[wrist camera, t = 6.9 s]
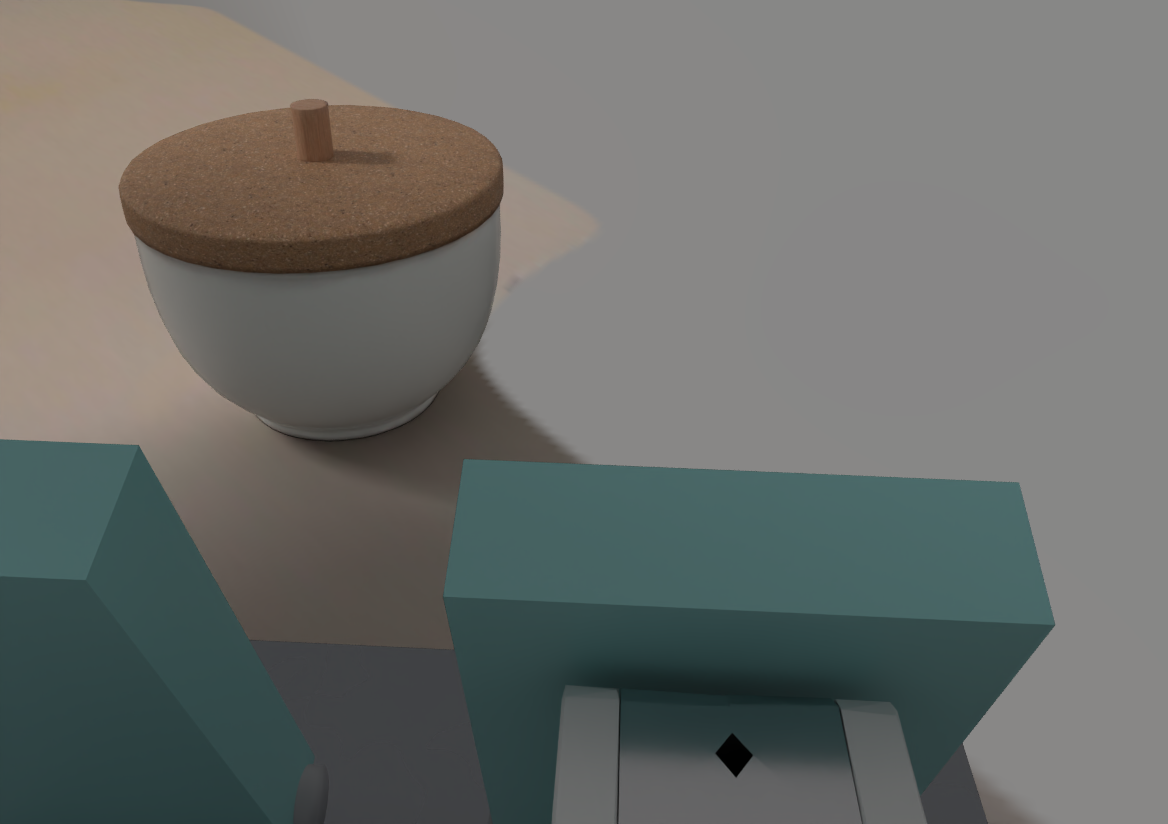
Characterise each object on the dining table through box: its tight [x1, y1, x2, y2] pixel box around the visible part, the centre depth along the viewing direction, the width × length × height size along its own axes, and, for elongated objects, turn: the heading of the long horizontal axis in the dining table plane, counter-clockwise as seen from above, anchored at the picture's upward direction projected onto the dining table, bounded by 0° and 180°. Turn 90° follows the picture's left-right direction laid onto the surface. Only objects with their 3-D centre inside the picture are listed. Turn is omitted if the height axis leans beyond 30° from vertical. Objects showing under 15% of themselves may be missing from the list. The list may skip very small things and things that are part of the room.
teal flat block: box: [443, 459, 1055, 824], centre depth 12 cm, size 5×1×8 cm, turn 87°
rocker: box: [0, 439, 329, 824], centre depth 12 cm, size 5×1×9 cm, turn 87°
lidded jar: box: [119, 99, 503, 441], centre depth 31 cm, size 11×11×9 cm
